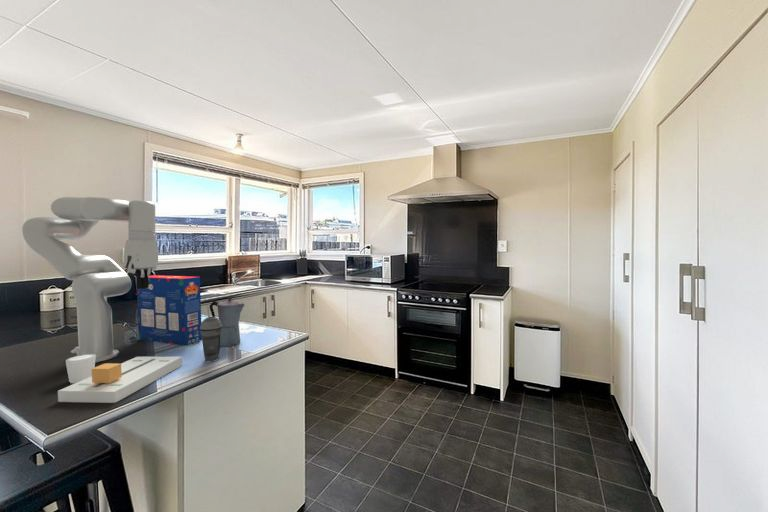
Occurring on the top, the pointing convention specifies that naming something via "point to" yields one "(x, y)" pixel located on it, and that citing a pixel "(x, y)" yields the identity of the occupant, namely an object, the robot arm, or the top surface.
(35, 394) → the top surface
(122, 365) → the slide fader track
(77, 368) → the white tapered cup
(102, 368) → the fader knob
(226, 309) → the moka pot
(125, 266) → the robot arm
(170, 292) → the blue box
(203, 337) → the beverage cup
